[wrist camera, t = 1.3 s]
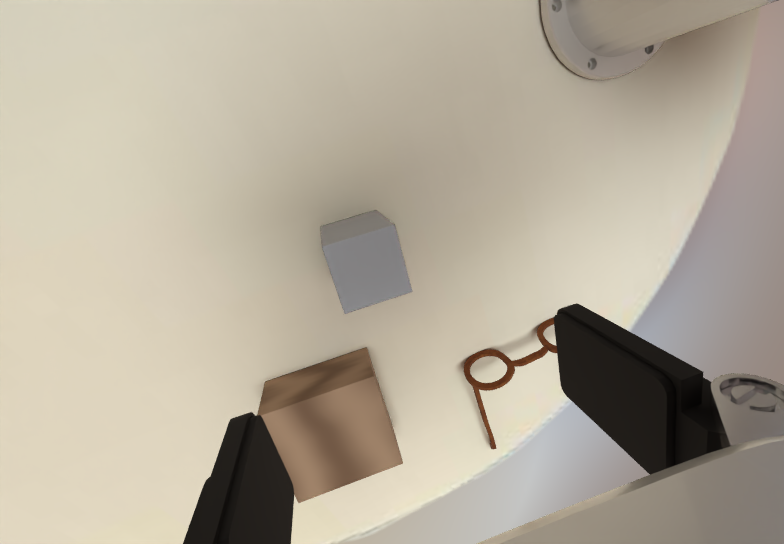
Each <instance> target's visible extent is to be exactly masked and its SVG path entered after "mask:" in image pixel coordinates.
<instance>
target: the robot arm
mask: <svg viewBox="0 0 784 544" xmlns="http://www.w3.org/2000/svg"><path fill="white" fill-rule="evenodd" d="M775 1H778V0H541V16H542V21H543V25H544V30H545V34H546V36H547V39H548V41H549V43H550V46H551V48H552V49H553V51H554V53H555V54H556V56H557V57H558V59H559V60H560V61H561V62H562V63H563V64H564V65H565V66H566V67H567V68H568V69H570V70H571V71H573V72H574V73H576V74H577V75H579V76H582V77H585V78H588V79H596V80H605V79H611V78H615V77H619V76H622V75H625V74H628V73H630V72H632V71H634V70H636V69H637V68H639V67H640V66H642V65H643V64H644V63H645V62H647V61H648V60H649V59H650V58H651V57H652V56H653V55H654V54H655V53H656V52H657V51H658V50H659V48H660V47H661V46H662V44H663V43H664V41H665V40H667V39H670V38H673V37H676V36H679V35H681V34H684V33H687V32H690V31H693V30H696V29H698V28H701V27H704V26H707V25H710V24H713V23H715V22H718V21H721V20H724V19H727V18H730V17H733V16H735V15H738V14H741V13H744V12H747V11H750V10H752V9H755V8H758V7H761V6H764V5H766V4H769V3H772V2H775ZM554 326H555V336H556V345H557V354H558V363H559V373H560V382H561V387H562V389H563V391H564V393H565V394H566V396H567V397H568V398H569V399H570V400H571V401H573V402H574V403H575V404H576V405H577V406H578V407H579V408H580V409H581V410H582V411H583V412H584V413H585V414H586V415H587V416H589V417H590V418H591V419H592V420H593V421H594V422H595V423H596V424H597V425H598V426H599V427H600V428H601V429H602V430H603V431H604V432H606V434H608V435H609V436H610V437H611V438H612V439H613V440H614V441H615V442H616V443H617V444H618V445H619V446H620V447H621V448H623V449H624V450H625V451H626V452H627V453H628V454H629V455H630V456H631V457H632V458H633V459H634V460H635V461H636V462H637V463H638V464H640V466H641V467H643V468H644V469H645V470H646V471H647V472H648V473H649V474H650V475H649V476H646V477H643V478H641V479H638V480H636V481H633V482H631V483H628V484H626V485H623V486H620V487H618V488H615V489H613V490H611V491H608V492H605V493H603V494H600V495H597V496H595V497H592V498H590V499H587V500H585V501H582V502H580V503H577V504H575V505H572V506H570V507H567V508H565V509H562V510H559V511H557V512H554V513H552V514H549V515H547V516H544V517H542V518H539V519H537V520H535V521H532V522H529V523H527V524H524V525H522V526H519V527H517V528H514V529H512V530H509V531H507V532H504V533H502V534H500V535H497V536H494V537H492V538H489V539H487V540H485V541H482V542H480V543H477V544H784V385H782V384H780V383H778V382H775V381H773V380H771V379H767V378H764V377H760V376H756V375H750V374H734V373H733V374H732V373H731V374H726V375H721V376H719V377H717V378H715V379H714V380H713V381H712V382H710V381H709V380H707V379H705V378H703V372H702V371H700V370H699V369H697V368H695V367H693V366H691V365H689V364H688V363H686V362H684V361H682V360H680V359H678V358H676V357H675V356H673V355H671V354H669V353H667V352H666V351H664V350H662V349H660V348H658V347H656V346H654V345H653V344H651V343H649V342H647V341H645V340H643V339H642V338H640V337H638V336H636V335H635V334H633V333H631V332H629V331H627V330H625V329H624V328H622V327H620V326H618V325H616V324H614V323H613V322H611V321H609V320H607V319H605V318H603V317H602V316H600V315H598V314H596V313H594V312H592V311H591V310H589V309H587V308H585V307H583V306H581V305H579V304H573V305H570V306H567V307H564V308H561V309H559V310H558V312H557V315H555V316H554ZM293 504H294V488H293V484H292V481H291V478H290V476H289V474H288V472H287V470H286V468H285V466H284V463H283V461H282V459H281V457H280V455H279V453H278V450H277V448H276V446H275V444H274V442H273V440H272V437H271V435H270V433H269V431H268V429H267V427H266V425H265V422H264V420H263V418H262V417H261V415H257V416H255V415H254V414H253V413H252V412H250V413H247V414H244V415H241V416H238V417H235V418H232V419H231V420H230V422H229V424H228V427H227V430H226V433H225V436H224V439H223V442H222V445H221V448H220V451H219V453H218V456H217V459H216V462H215V465H214V468H213V471H212V474H211V477H209V478H208V479H207V480H206V482H205V484H204V486H203V489H202V492H201V494H200V497H199V500H198V503H197V506H196V509H195V511H194V514H193V517H192V520H191V523H190V525H189V528H188V531H187V534H186V537H185V540H184V542H183V544H291V531H292V518H293Z"/></svg>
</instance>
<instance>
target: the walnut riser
mask: <svg viewBox="0 0 784 544" xmlns="http://www.w3.org/2000/svg"><path fill="white" fill-rule="evenodd" d="M257 415H261V417H262V418H263V420H264V422H265V425H266V427H267V429H268V431H269V433H270V435H271V437H272V440H273V442H274V444H275V446H276V448H277V450H278V453H279V455H280V457H281V459H282V461H283V463H284V466H285V468H286V470H287V472H288V474H289V476H290V478H291V481H292V484H293V488H294V495H295V497H296V499H297V501H298V503H300V502H303V501H305V500H308V499H311V498H313V497H316V496H319V495H321V494H324V493H326V492H329V491H332V490H334V489H337V488H340V487H342V486H345V485H347V484H350V483H353V482H355V481H358V480H361V479H363V478H366V477H369V476H371V475H374V474H376V473H379V472H382V471H384V470H387V469H390V468H392V467H395V466H397V465H400V464H403V461H402V458H401V454H400V451H399V447H398V444H397V440H396V437H395V433H394V430H393V426H392V423H391V420H390V417H389V414H388V411H387V408H386V405H385V402H384V399H383V396H382V393H381V390H380V387H379V384H378V381H377V378H376V375H375V372H374V369H373V366H372V363H371V359H370V356H369V353H368V350H367V347H366V348H363V349H360V350H357V351H354V352H351V353H349V354H346V355H343V356H340V357H337V358H334V359H331V360H328V361H325V362H322V363H319V364H316V365H313V366H310V367H307V368H304V369H301V370H299V371H296V372H293V373H290V374H287V375H284V376H281V377H278V378H275V379H272V380H269V381H266V382H265V385H264V389H263V393H262V397H261V402H260V406H259V410H258V414H257Z"/></svg>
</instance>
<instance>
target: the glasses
mask: <svg viewBox="0 0 784 544" xmlns="http://www.w3.org/2000/svg"><path fill="white" fill-rule="evenodd" d="M553 324H554V318H551V319H548V320H546V321H545V322H543V323H542V324H541V325H540V326H539V327H538V329H537V336H538V338H539V340H540V342H541V343H542V345H543V346H544V347H543V348H541V349H540V350H539V351H537V352H534V353H532V354H530V355H528V356H526V357H524V358H522V359H519V360H514V361H511V360H510V359H509V358H508V357H507V356H506V355H504V354H503V353H501V352H500V351H497V350H491V349H489V350H483V351H480V352H477V353H475V354H473V355H472V356H471V357H469V358H468V359H467V361H466V362H465V365H464V373H465V377H466V379H467V380H468V382H469V383H470V384H471V385H472V386H473V390H474V393H475V396H476V399H477V403H478V406H479V409H480V413H481V416H482V419H483V422H484V424H485V427H486V430H487V432H488V435H489V438H490V441H491V443H490V445H491V449H496V445H495V441H494V437H493V434H492V431H491V429H490V426H489V423H488V420H487V416H486V413H485V409H484V406H483V403H482V399H481V396H480V392H479V389H480V390H494V389H497V388H500V387H502V386H504V385H505V384H507V383H508V382H509V381H510V380H511V378H512V376H513V374H514V372H515V368H514V366H524V365H526V364H528V363H531V362H533V361H535V360H537V359H539V358H541V357H543V356H544V355H545V354H546V353H547V352H548V351H550V352H553V353H557V346H555V345H552V344H551V343H549V342H548V341H547V340H546V339H545V337H544V335H543V332H544V330H545V329H546V328H547V327H549V326H551V325H553ZM485 356H495V357H498V358H500V359H501V360H502V361H503V362H504V363H505V364H506V365H507V372H506V374H505V375H504V376H503V377H502V378H501V379H499V380H498V381H495V382H492V383H481V382H478V381H477V380H475V379H474V378H473V377H472V376H471V374H470V367H471V365H472V364H473V363H474V362H475V361H476V360H478V359H479V358H482V357H485Z"/></svg>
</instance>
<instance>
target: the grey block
mask: <svg viewBox="0 0 784 544" xmlns="http://www.w3.org/2000/svg"><path fill="white" fill-rule="evenodd" d="M320 227H321V242H322V249H323V252H324V255H325V258H326V261H327V264H328V266H329V269H330V272H331V275H332V278H333V281H334V284H335V287H336V290H337V293H338V296H339V299H340V302H341V305H342V308H343V310H344V313H345V314H346V313H349V312H352V311H355V310H358V309H361V308H364V307H367V306H370V305H373V304H377V303H380V302H383V301H386V300H389V299H392V298H395V297H398V296H401V295H404V294H407V293H410V292H412V288H411V284H410V281H409V277H408V273H407V269H406V265H405V262H404V258H403V254H402V250H401V246H400V243H399V239H398V235H397V231H396V227H395V224H393V223H392V222H391V221H390V220H388V219H387V218H386V217H384V216H383V215H382V214H381V213H379V212H378V211H377V210H374V211H370V212H367V213H364V214H360V215H357V216H354V217H350V218H347V219H344V220H340V221H337V222H334V223H330V224H327V225H324V226H320Z"/></svg>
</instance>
